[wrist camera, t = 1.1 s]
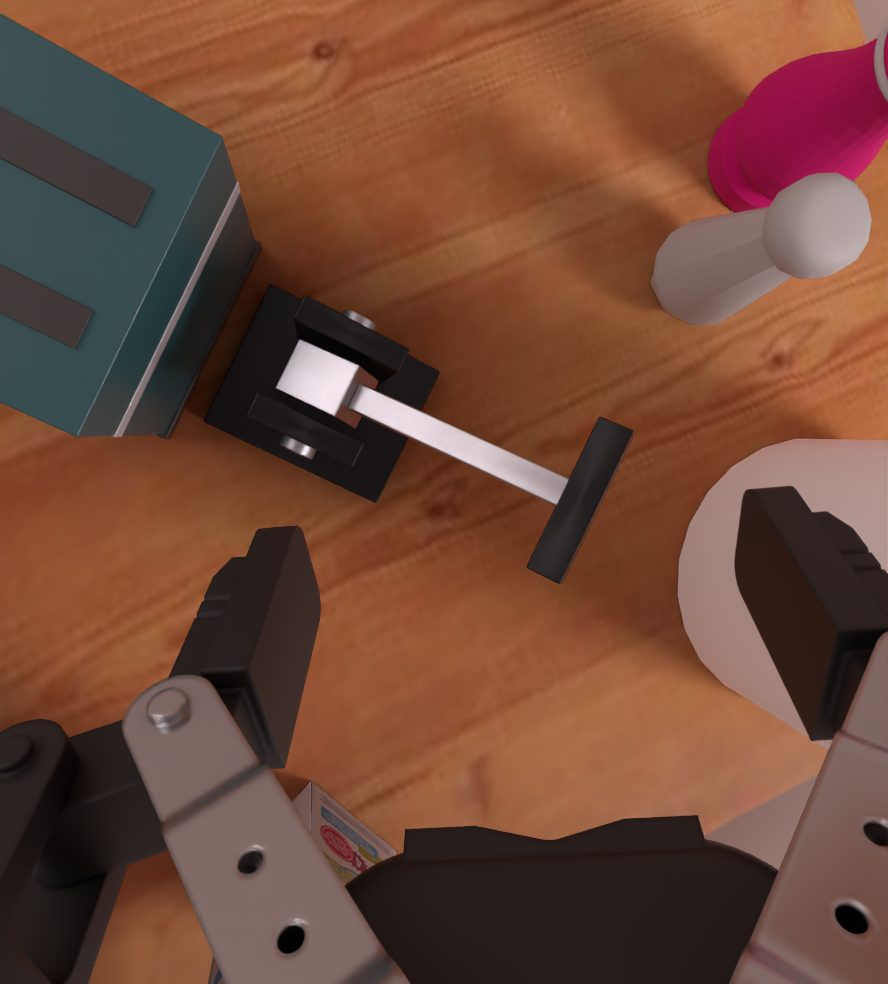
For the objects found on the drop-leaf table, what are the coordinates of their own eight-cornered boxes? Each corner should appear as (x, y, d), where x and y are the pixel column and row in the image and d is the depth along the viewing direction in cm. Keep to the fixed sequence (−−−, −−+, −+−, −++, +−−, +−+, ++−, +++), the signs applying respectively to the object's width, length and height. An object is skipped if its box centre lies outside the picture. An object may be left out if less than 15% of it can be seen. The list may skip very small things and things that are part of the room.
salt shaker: (745, 286, 44) (923, 227, 31) (680, 351, 43) (832, 319, 31) (686, 210, 43) (844, 116, 30) (617, 276, 42) (749, 210, 29)
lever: (633, 440, 27) (634, 427, 25) (563, 583, 27) (558, 584, 25) (342, 315, 31) (320, 293, 28) (280, 443, 31) (253, 432, 28)
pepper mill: (674, 160, 42) (986, -72, 23) (756, 74, 43) (1131, -229, 23) (753, 252, 44) (1113, 107, 24) (831, 167, 44) (1247, -44, 24)
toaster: (262, 246, 39) (231, 132, 24) (169, 439, 39) (79, 445, 24) (70, 145, 37) (-96, -50, 22) (-28, 348, 37) (-262, 292, 22)
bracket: (436, 373, 41) (491, 348, 28) (374, 501, 41) (401, 532, 28) (271, 287, 39) (251, 219, 26) (206, 421, 39) (155, 418, 26)
